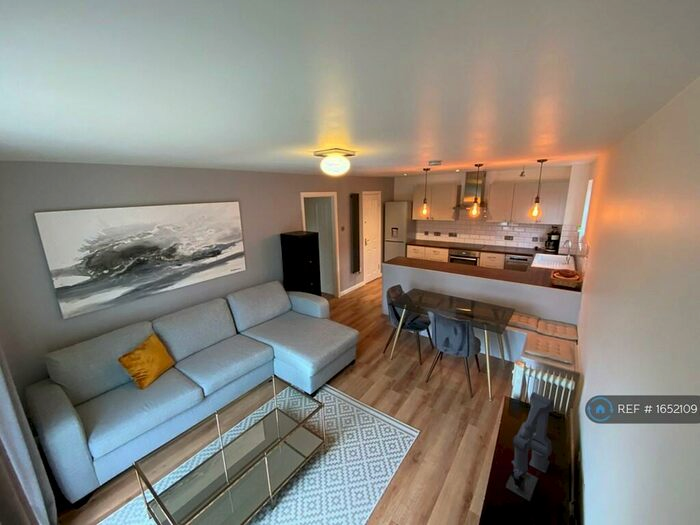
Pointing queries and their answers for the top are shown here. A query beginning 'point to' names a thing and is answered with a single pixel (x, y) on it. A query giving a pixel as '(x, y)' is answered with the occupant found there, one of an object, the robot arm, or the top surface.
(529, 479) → the socket block
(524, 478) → the end plug
